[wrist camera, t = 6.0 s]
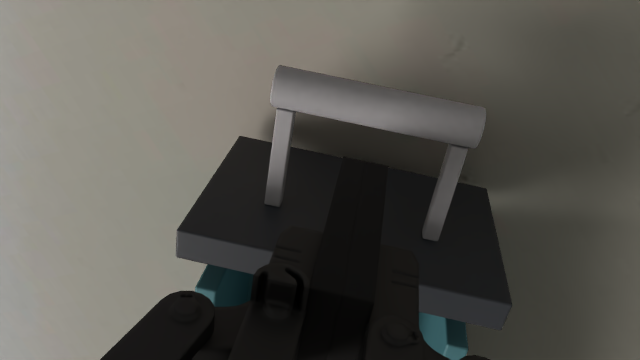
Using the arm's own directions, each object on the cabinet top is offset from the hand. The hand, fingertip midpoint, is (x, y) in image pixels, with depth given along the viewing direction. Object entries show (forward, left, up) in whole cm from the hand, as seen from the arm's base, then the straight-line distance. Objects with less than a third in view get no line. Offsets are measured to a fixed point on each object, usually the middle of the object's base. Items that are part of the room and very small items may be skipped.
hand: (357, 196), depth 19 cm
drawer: (+5, +4, -7) cm, 9 cm away
